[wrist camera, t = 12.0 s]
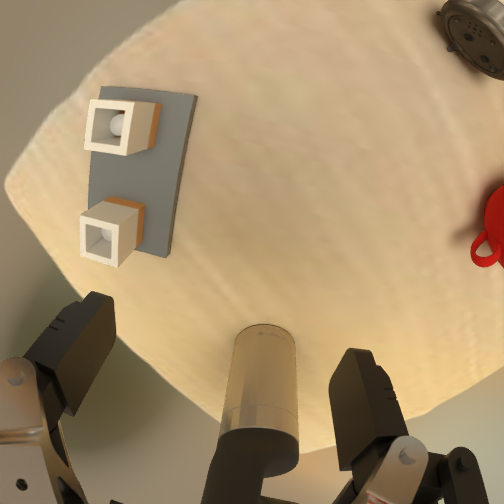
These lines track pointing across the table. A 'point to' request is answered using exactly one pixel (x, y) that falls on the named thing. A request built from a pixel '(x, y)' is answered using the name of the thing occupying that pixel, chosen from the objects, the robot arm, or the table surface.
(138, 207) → the pin board
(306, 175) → the table surface
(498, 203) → the ceramic cup
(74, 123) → the table surface
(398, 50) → the table surface
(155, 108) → the sleeve
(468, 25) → the alarm clock
